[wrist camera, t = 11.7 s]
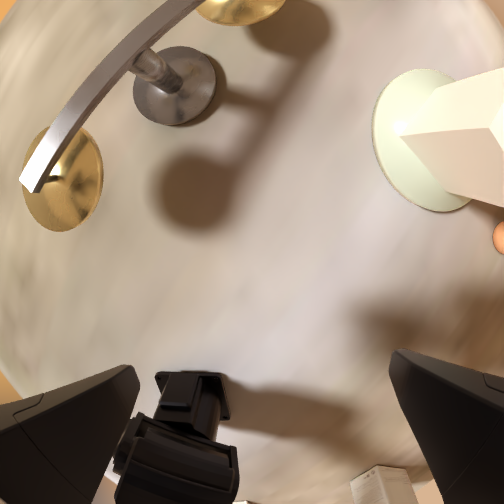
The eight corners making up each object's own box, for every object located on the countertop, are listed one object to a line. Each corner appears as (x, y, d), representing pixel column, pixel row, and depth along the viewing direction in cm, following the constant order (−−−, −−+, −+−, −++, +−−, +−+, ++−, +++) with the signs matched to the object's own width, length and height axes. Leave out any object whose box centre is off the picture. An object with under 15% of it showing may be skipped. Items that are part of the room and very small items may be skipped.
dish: (482, 207, 19) (490, 210, 18) (375, 211, 20) (381, 214, 19) (473, 83, 16) (481, 81, 15) (362, 65, 17) (367, 60, 16)
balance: (124, 223, 21) (43, 267, 12) (74, 180, 20) (-16, 200, 11) (300, 10, 16) (320, -71, 6) (237, -24, 15) (222, -104, 5)
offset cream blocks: (445, 191, 18) (575, 234, 6) (398, 136, 17) (536, 126, 5) (478, 142, 16) (601, 153, 5) (436, 88, 16) (560, 55, 4)
